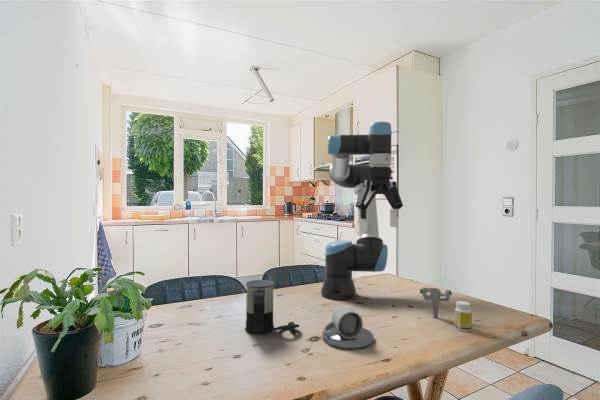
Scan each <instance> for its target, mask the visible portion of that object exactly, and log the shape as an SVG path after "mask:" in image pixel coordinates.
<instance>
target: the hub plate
mask: <svg viewBox="0 0 600 400" xmlns="http://www.w3.org/2000/svg"><path fill="white" fill-rule="evenodd" d="M334 329H336V328H335V327H332V328H330V329H329V330H328V331H332V330H334ZM321 334H322V335H321V337H322V341H323V342H324V344H326V345H327V346H329V347H332V348H335V349H338V350H344V351H357V350H358V351H359V350H364V349H367V348H369V347H371V346H372V345H373V343H374V335H373V333H372V332H371V331H370V330H369V329H367V328H365V327H362V331H361V333H360V334H359V335H358V336H357V337H355V338H353V339H346V338H344V337H342V336H341V335H340V334H336V335H334V336H326V335H325V333H324V330H322V333H321Z"/></svg>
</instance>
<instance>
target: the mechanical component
mask: <svg viewBox="0 0 600 400" xmlns="http://www.w3.org/2000/svg"><path fill="white" fill-rule="evenodd" d="M428 293H429V294H428ZM452 293H453V292H452V290H449V289H445V292H444V293H442V292H441V289H440V288H437V287H434V288H433V287H421V288H420V289H419V294H422V295H421V296H422V297H423V299H424V300H425V301H430V302H431V305H432V317H433V319H438V317H439V306H440V302H449V301H450V297H451V296H452ZM442 297H445V298H442Z"/></svg>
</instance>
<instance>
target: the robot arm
mask: <svg viewBox="0 0 600 400" xmlns="http://www.w3.org/2000/svg"><path fill="white" fill-rule="evenodd" d="M368 129H369V131H368V133H369V134H334V135H329V136H328V137H327V154H328V155H330V156H331V166H330V167H329V178H330V179H331V181H332V182H334V184H336V185H337V186H339V187H341V188H345V189H346V188H347V189H353V192H355V194H356V195H357V196H356V197H357V201H356V203H355V208H357V210H358V211H357V213H358V214H357V215H358V233H359V234H358V235H359V238H358V239H356V242H355V243H353V241H352V240H338V241H331V242H329V243H327V244H326V246H325V253H324V255H325V262H324V263H325V268H324V269H325V273H324V274H325V276H324V280H323V283H322V286H321V291H320V292H321V296H322V297H323V298H326V299H329V300H339V301H340V300H341V301H343V300H350V299H354V298H355V297H356V296H357V290H356V286H355V283H354V280H353V272H371V273H372V272H373V273H376V272H383V271H385V270H386V267H387V264H388V256H389V255H388V254H389V253H388V251H389V250H388V245H387V244H384V240H383V239H382V238H381V237H380V234H379V233H380V232H379V220H378V219H379V218H378V211H377V198H376V197H377V196H376V195H377V194H378V195H380V194H381V195H383V196H384V197H385V198H386V200H387V202H388V203H389V205H390V207H391V208H390V212H389V213H390V214H389V215H390V216H389V217H390V219H389V221H390V222H389V226H390V227H391V228H398V218H399V210H400V209H401V208H403V207H404V204H403V202H402V198H401V195H400V192H399V190H398V186H397V181H393V180H392V181H391V180H390V179H391V178H392V167H391V166H392V134H393V131H392V124H391V123H390V122H388V121H375V122H371V123H370V125H369V128H368ZM352 155H355V156H356V155H357V156H360V155H363V156H365V155H366V156H367V155H369V156H368V157H369V159H368V161H369V162H368V164H350V161H351V156H352Z"/></svg>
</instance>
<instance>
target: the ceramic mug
mask: <svg viewBox="0 0 600 400" xmlns="http://www.w3.org/2000/svg"><path fill="white" fill-rule="evenodd" d="M363 325H364V323H363V318H362V317H361V315H360V314H359V313H357V312H356V311H354V310H353V309H351V308H350V307H347V306H339V307H337V308H336V309H335V310H334V311H333V313H332V316H331V321H330V322H329V323H328V324H326V325H325V326H324V328H323V331H324V333H325V335H326V336H334V335H336V334H340V335H341V336H342V337H344V338H346V339H353V338H355V337H357V336H358V335H359V334H360V333H361V331H362V328H364V326H363ZM332 327H335V328H336V329H334V330H332V331H328V330H329V329H330V328H332Z"/></svg>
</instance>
